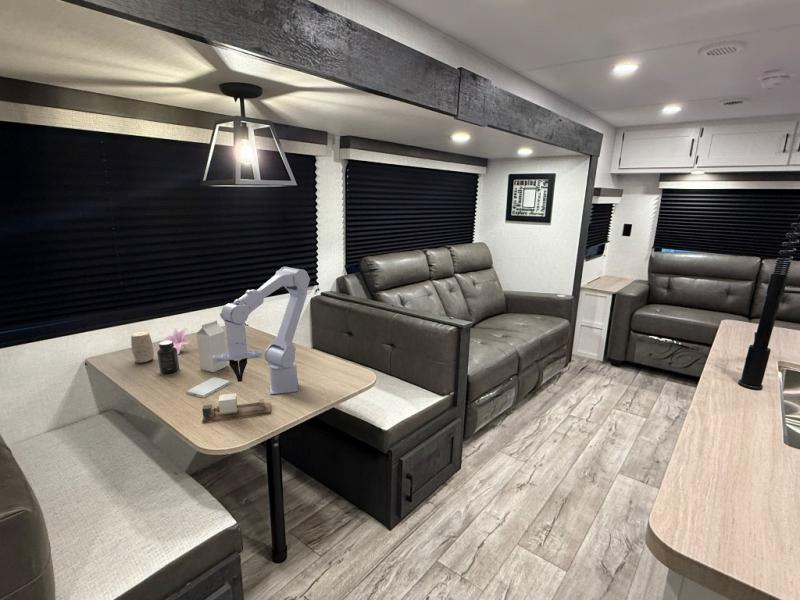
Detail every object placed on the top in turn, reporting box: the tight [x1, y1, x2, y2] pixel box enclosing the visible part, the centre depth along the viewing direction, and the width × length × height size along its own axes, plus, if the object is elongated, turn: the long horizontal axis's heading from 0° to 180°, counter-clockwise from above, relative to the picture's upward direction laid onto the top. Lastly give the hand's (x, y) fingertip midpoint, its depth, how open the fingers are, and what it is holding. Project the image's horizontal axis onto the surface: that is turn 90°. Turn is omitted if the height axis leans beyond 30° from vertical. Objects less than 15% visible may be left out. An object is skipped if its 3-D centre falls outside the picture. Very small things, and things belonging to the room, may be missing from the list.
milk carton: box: [196, 319, 228, 373], centre depth 164 cm, size 7×7×19 cm
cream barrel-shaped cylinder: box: [130, 331, 155, 364], centre depth 170 cm, size 6×8×12 cm
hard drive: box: [185, 376, 231, 399], centre depth 149 cm, size 2×8×12 cm
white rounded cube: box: [218, 392, 238, 415], centre depth 131 cm, size 5×4×5 cm
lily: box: [162, 327, 190, 355], centre depth 183 cm, size 12×12×10 cm
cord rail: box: [201, 399, 272, 423], centre depth 132 cm, size 20×6×4 cm, turn 108°
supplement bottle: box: [156, 340, 180, 375], centre depth 161 cm, size 7×7×12 cm
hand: (240, 380), depth 135 cm, fingers closed
